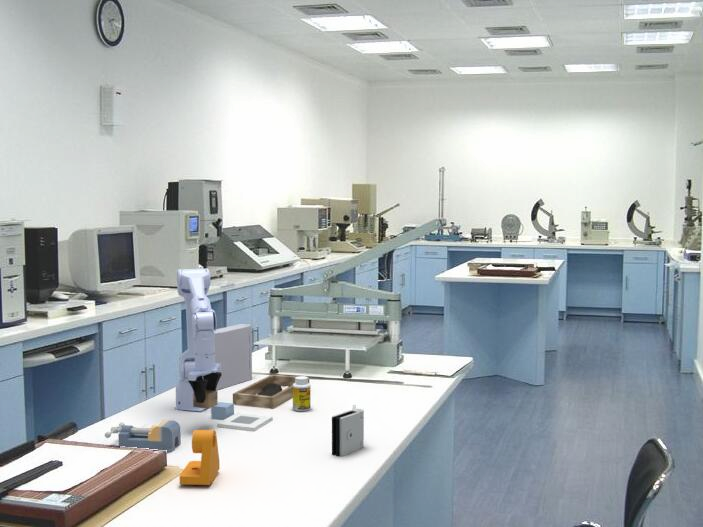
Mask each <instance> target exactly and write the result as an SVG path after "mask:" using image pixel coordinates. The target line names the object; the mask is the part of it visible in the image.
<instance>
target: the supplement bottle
mask: <svg viewBox="0 0 703 527" xmlns="http://www.w3.org/2000/svg"><path fill="white" fill-rule="evenodd" d="M295 377H296V378H295V383H294V384H293V398H292V409H293V410H294V411H295V412H307V411H309V410H310V409H311V383H310V382H309V383H308V378H309V377H308V376H304V375H303V376H302V375H301V376H295Z"/></svg>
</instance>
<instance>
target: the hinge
mask: <svg viewBox="0 0 703 527" xmlns="http://www.w3.org/2000/svg"><path fill="white" fill-rule="evenodd" d="M356 407H357V405H356V404H353V405H352V408H351V409H350V410H347V411H344V412H341V413H337V414H335V415H332V416H331V455H332V456H336V457H344V456H346V455H349V454H351V453H353V452H356V451H359V450H361V449H362V448H364V443H365V442H364V438H365V433H364V432H365V431H364V425H365V420H364V419H365V418H364V416H365V415H364V411H365V410H364V409H363V408H356Z"/></svg>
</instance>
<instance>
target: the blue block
mask: <svg viewBox="0 0 703 527" xmlns="http://www.w3.org/2000/svg"><path fill="white" fill-rule="evenodd" d="M210 409H211V411H210V412H211V419H212V420H220V421H223V420H225V419H226V418H228V417H230V416H232V415H234V414H235V405H234V403H233V402H223V401H218V405H216V406H214V407H211V408H210Z"/></svg>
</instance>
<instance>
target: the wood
mask: <svg viewBox="0 0 703 527" xmlns="http://www.w3.org/2000/svg"><path fill="white" fill-rule="evenodd" d="M282 389H283V388H282V386H280V385H278V384H276V383H269V384H267V385H266V386H265V387H264V388H263V389H262V391H261V392H260V393H258V394H257V395H262V396H273V395H275V394H277V393H279V392H281V391H282Z"/></svg>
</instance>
